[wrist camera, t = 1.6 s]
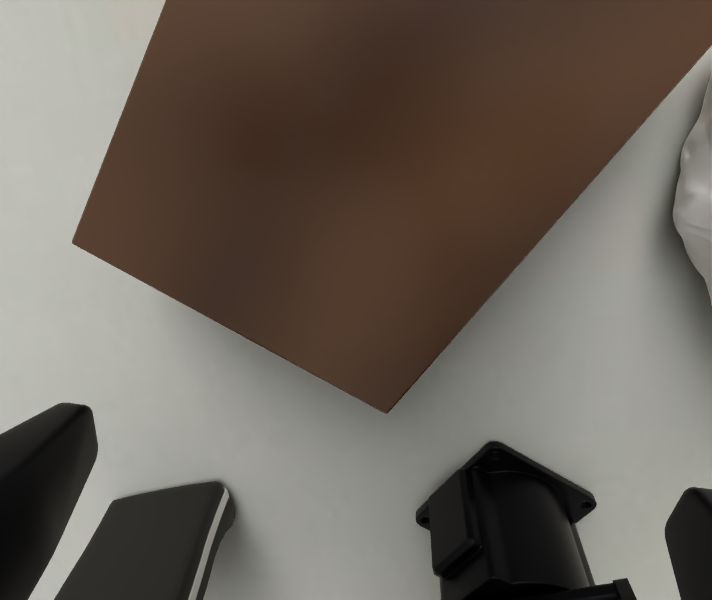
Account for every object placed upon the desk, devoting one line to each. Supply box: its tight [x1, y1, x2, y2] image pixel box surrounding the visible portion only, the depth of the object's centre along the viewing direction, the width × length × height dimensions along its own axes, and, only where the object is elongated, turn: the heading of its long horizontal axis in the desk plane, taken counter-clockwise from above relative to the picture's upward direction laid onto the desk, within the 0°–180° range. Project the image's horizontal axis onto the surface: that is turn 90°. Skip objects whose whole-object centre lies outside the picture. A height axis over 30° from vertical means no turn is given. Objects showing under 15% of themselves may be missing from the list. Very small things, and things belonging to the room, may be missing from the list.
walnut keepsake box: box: [72, 0, 712, 414], centre depth 16 cm, size 11×15×6 cm
